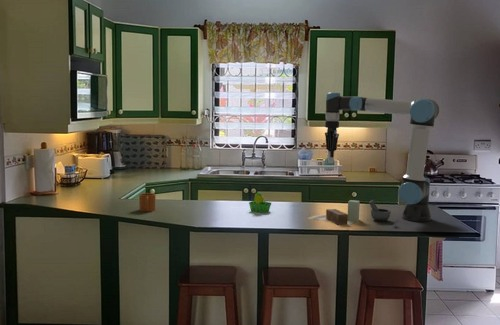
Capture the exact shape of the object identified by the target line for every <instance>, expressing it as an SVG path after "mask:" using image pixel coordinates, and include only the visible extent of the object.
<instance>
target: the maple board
mask: <svg viewBox="0 0 500 325" xmlns="http://www.w3.org/2000/svg"><path fill="white" fill-rule="evenodd" d="M306 219H308V220H313V221H321V222H328V223H333V222H332V221H330V220H328V219H326V214H320V213H319V214H316V215H315V214H314V215H312V216H310V217H307V218H306ZM360 221H361V219H359V220H358V221H357V222H355V221H347V224H346V225H348V226H351V225H354V224H355V223H358V222H360Z"/></svg>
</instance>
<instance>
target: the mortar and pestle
mask: <svg viewBox="0 0 500 325" xmlns="http://www.w3.org/2000/svg"><path fill="white" fill-rule="evenodd" d="M368 204H369V205H370V208H371V209H370V215H371V218H372V219H373V221H375V222H379V223H380V222H381V223H385V222H387V221H388V220H389V218H390V216H391V214H392V213H391V212H392V211H391V210H389V209H386V208H378V207H377V205H376V203H375V200H374V199H372V200H370V201H369V202H368Z"/></svg>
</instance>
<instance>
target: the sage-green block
mask: <svg viewBox="0 0 500 325" xmlns="http://www.w3.org/2000/svg"><path fill="white" fill-rule="evenodd" d="M360 202H361V201H360V200H354V199H353V200H352V199H350V200H348V201H347V214H348V220H347V221H355V222H356V223H358V222H359V221H358V220H360V204H361V203H360ZM357 221H358V222H357Z"/></svg>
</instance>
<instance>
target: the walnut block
mask: <svg viewBox="0 0 500 325" xmlns="http://www.w3.org/2000/svg"><path fill="white" fill-rule="evenodd" d="M325 215H326V219H328V220H330V221H332V222H331V223H334V224H336V225H348V224H347V220H348V213H346V212H344V211H341V210H338V209H336V208H327V209H326V210H325Z"/></svg>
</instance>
